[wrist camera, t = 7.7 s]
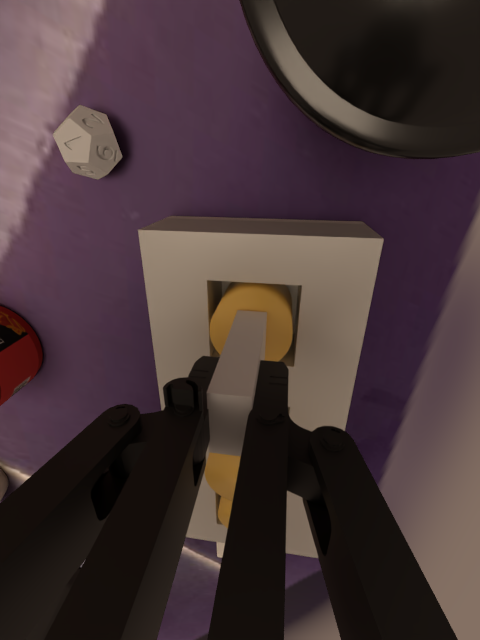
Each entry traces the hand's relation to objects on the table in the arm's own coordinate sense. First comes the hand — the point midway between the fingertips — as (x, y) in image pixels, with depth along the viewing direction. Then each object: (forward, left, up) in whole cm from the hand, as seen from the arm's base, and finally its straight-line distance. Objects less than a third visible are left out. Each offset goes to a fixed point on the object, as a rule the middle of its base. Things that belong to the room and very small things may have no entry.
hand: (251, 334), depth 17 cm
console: (-8, 0, -6) cm, 10 cm away
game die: (+9, +10, -7) cm, 15 cm away
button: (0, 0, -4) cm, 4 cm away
